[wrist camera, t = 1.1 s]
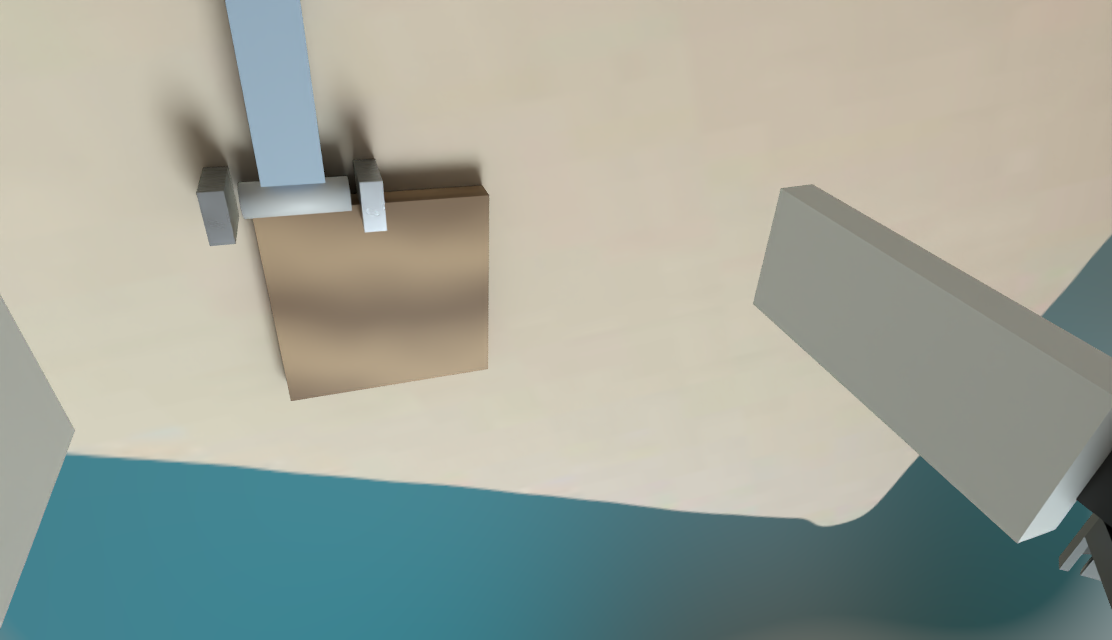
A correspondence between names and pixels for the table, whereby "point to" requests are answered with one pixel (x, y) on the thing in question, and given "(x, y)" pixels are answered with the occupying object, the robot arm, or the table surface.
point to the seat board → (380, 291)
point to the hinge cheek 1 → (218, 205)
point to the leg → (281, 113)
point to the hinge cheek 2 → (370, 195)
